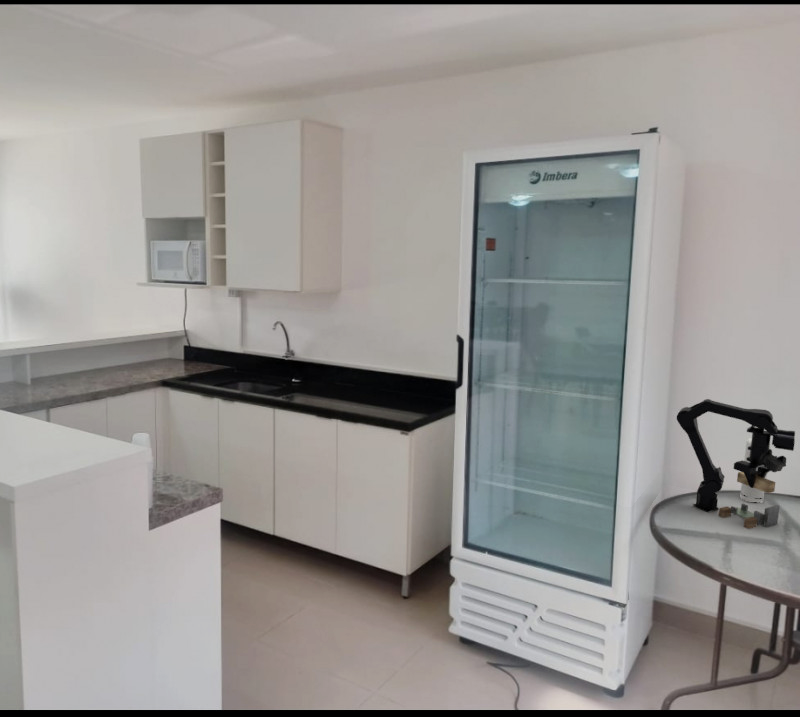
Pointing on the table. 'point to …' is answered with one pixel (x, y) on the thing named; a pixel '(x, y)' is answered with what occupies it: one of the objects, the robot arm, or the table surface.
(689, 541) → the table surface
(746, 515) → the bracket
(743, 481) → the rail
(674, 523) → the table surface
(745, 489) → the bottle
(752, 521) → the pair of brown blocks
